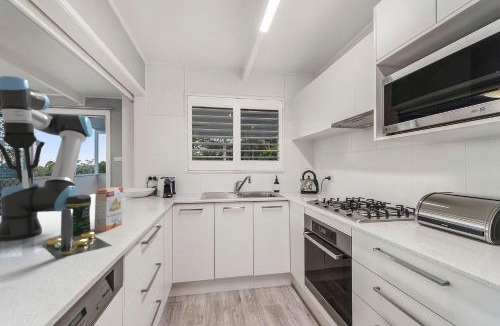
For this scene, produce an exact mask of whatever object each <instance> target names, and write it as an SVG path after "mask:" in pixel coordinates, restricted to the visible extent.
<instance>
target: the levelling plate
mask: <svg viewBox="0 0 500 326" xmlns="http://www.w3.org/2000/svg"><path fill="white" fill-rule="evenodd" d="M80 237H87V238H89V242H88V243H87V244H85V245H81V246H78V247H77V248H76V249H75V250H74V251H73V252H72V253H71V254H66V255H62V252H61V236H56V237H50V238H48V239H46V243H44V244H41V246H42V247H43V248H44V249H45V250H46V251H47V252H48V253H50V254H51V256H53V257H54V258H55V259H56V260H58V259H62V258H66V257H70V256H75V255H79V254H84V253H87V252H88V253H89V252H92V251H96V250H99V249H103V248H108V247H112V246H113V245H112V244H110V243H109V242H106V241H105V240H102V239H100V238H99V237H97V236H96V231H94V230H93V231H92V230H90V231H89V232H83V233H81V235H80ZM80 237H78V238H80Z"/></svg>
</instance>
